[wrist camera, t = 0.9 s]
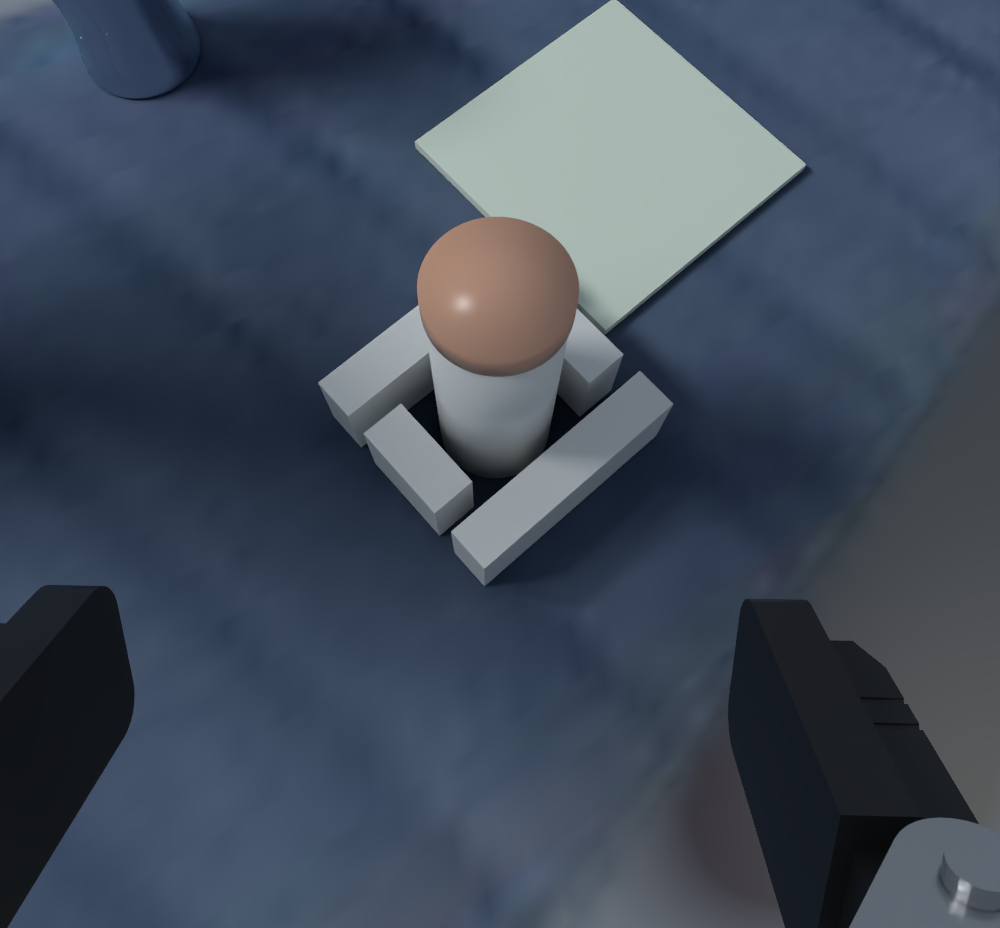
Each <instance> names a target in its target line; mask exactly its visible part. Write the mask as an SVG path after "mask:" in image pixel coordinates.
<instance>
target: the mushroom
mask: <svg viewBox="0 0 1000 928" xmlns="http://www.w3.org/2000/svg"><path fill="white" fill-rule="evenodd" d="M417 295H418V303H419V309H420V316H421V321H422V324H423V328H424V330H425V332H426V336H427V343H428V349H429V356H430V363H431V370H432V377H433V383H434V390H435V397H436V404H437V410H438V417H439V424H440V431H441V437H442V441H443V444H444V446H445V449H446V451H447V452H448V454H449V455H450V457H451V458H452V459H453V460H454V461H455V462H456V463H457V464H458V465H459V466H460V467H461V468H463V469H464V470H466V471H468V472H470V473H472V474H474V475H477V476H481V477H485V478H505V477H509V476H513V475H516V474H518V473H520V472H522V471H523V470H524V469H525V468H526V467H527V466H529V465H530V464H531V463H532V462H533V461H534V460H536V459H537V458H538V457H539V456H540V455H541V453H542V452H543V450H544V448H545V445H546V443H547V439H548V435H549V430H550V425H551V420H552V415H553V410H554V405H555V400H556V395H557V390H558V385H559V380H560V375H561V370H562V365H563V360H564V355H565V350H566V345H567V339H568V337H569V334H570V332H571V330H572V327H573V323H574V319H575V315H576V310H577V305H578V299H579V280H578V275H577V271H576V268H575V265H574V263H573V261H572V259H571V257H570V255H569V254H568V252H567V251H566V249H565V248H564V247H563V245H562V244H561V243H560V242H559V241H558V240H557V239H556V238H555V237H553V236H552V235H551V234H550V233H548V232H547V231H545V230H544V229H542V228H540V227H538V226H536V225H534V224H532V223H529V222H527V221H524V220H520V219H516V218H510V217H485V218H479V219H475V220H471V221H469V222H466V223H463V224H461V225H459V226H457V227H455V228H453V229H452V230H450V231H449V232H447V233H446V234H444V235H443V236H442V237H441V238H440V239H439V240H438V241H437V242H436V243H435V244H434V245H433V246H432V247H431V249H430V250H429V252H428V253H427V255H426V256H425V258H424V260H423V262H422V265H421V268H420V271H419V275H418V281H417Z"/></svg>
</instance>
